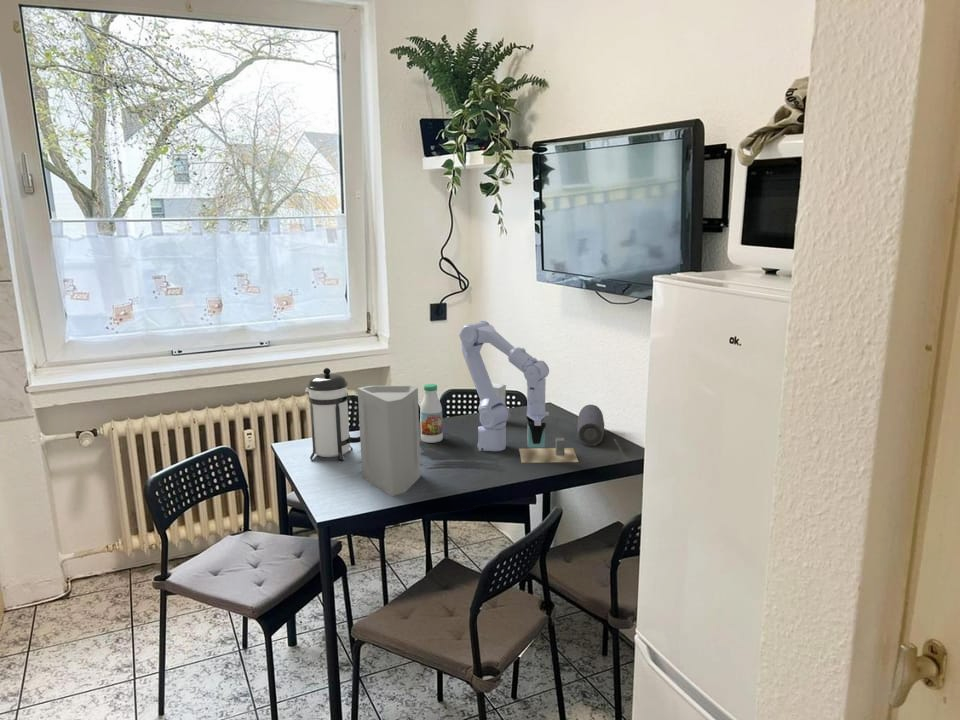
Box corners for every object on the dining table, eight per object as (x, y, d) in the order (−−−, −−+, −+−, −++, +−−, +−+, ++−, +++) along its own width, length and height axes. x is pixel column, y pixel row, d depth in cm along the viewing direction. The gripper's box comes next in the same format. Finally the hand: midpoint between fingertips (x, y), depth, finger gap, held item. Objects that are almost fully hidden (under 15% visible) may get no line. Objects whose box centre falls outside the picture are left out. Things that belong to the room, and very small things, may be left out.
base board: (521, 467, 222) (521, 462, 221) (519, 452, 234) (519, 448, 234) (578, 466, 222) (578, 461, 221) (572, 452, 234) (573, 448, 234)
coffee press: (319, 468, 223) (314, 376, 216) (302, 454, 236) (296, 366, 229) (370, 457, 232) (365, 368, 226) (350, 444, 245) (346, 360, 239)
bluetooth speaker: (604, 450, 236) (605, 422, 234) (576, 449, 237) (577, 421, 235) (603, 429, 258) (604, 403, 256) (577, 428, 259) (578, 402, 257)
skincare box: (479, 422, 267) (479, 384, 264) (486, 418, 273) (486, 381, 269) (499, 425, 264) (499, 387, 260) (506, 421, 269) (506, 383, 266)
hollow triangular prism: (435, 483, 209) (433, 393, 203) (391, 496, 201) (387, 401, 195) (403, 465, 224) (400, 380, 218) (361, 476, 216) (356, 388, 210)
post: (556, 455, 227) (556, 440, 226) (555, 452, 230) (555, 438, 229) (564, 455, 227) (564, 440, 226) (563, 452, 230) (563, 437, 229)
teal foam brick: (528, 447, 223) (528, 427, 222) (527, 442, 229) (527, 422, 227) (544, 447, 223) (544, 427, 222) (543, 441, 229) (543, 422, 227)
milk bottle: (416, 439, 249) (414, 385, 245) (433, 434, 254) (432, 381, 250) (429, 444, 243) (428, 389, 239) (447, 439, 248) (446, 385, 244)
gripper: (551, 406, 216) (550, 447, 219) (546, 393, 230) (546, 433, 233) (528, 406, 216) (527, 448, 219) (525, 393, 230) (524, 433, 233)
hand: (535, 440), depth 226 cm, fingers closed on teal foam brick, 5 cm apart
